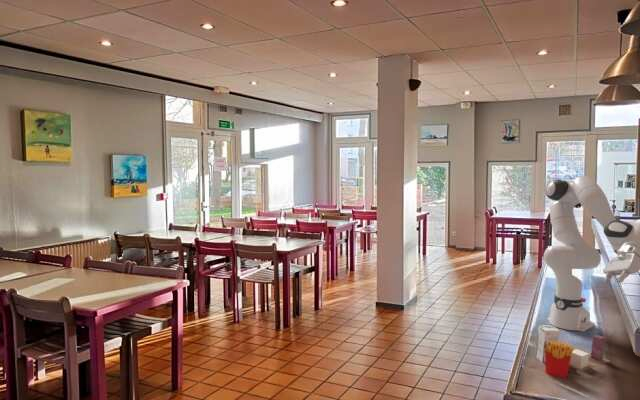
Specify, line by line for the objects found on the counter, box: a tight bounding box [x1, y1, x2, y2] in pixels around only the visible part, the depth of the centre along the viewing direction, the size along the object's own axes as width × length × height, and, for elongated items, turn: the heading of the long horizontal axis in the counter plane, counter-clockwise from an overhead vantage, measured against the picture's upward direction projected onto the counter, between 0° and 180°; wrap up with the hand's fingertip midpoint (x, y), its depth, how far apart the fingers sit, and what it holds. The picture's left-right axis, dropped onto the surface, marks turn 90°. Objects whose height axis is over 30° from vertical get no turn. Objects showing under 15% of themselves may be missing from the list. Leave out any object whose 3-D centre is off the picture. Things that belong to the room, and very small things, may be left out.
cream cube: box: [570, 348, 590, 369], centre depth 196 cm, size 5×5×5 cm
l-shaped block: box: [568, 334, 611, 374], centre depth 198 cm, size 24×8×10 cm, turn 122°
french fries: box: [545, 341, 574, 379], centre depth 187 cm, size 9×4×13 cm, turn 59°
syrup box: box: [535, 325, 560, 364], centre depth 199 cm, size 6×6×14 cm
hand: (612, 282), depth 204 cm, fingers open, 8 cm apart
